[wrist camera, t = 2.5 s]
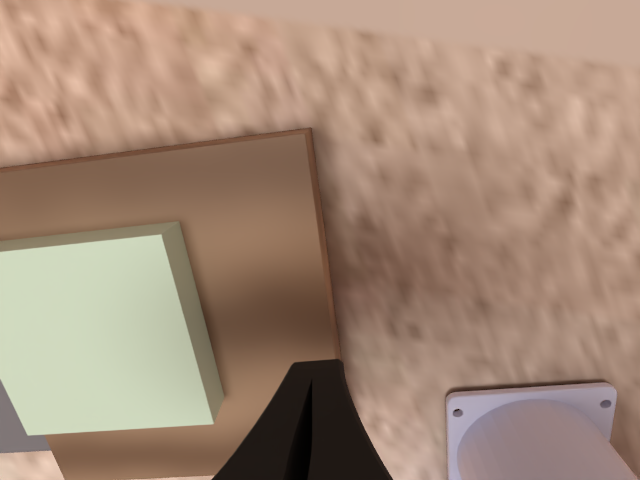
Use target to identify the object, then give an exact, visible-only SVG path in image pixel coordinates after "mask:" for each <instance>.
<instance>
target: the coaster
mask: <svg viewBox="0 0 640 480" xmlns="http://www.w3.org/2000/svg"><path fill="white" fill-rule="evenodd" d="M0 379H1V381H2V384H3V386H4V388H5V390H6V392H7V394H8V396H9V398H10V400H11V402H12V404H13V406H14V408H15V410H16V412H17V414H18V417H19V419H20V421H21V423H22V425H23V427H24V429H25V431H26V433H27V435H28V436H29V435H46V434H62V433H78V432H95V431H111V430H127V429H144V428H160V427H176V426H192V425H209V424H214V422H215V420H216V417H217V415H218V412H219V410H220V407H221V405H222V402H223V400H224V393H223V389H222V385H221V382H220V378H219V374H218V370H217V366H216V362H215V358H214V354H213V351H212V347H211V343H210V339H209V335H208V331H207V327H206V323H205V320H204V316H203V312H202V308H201V304H200V300H199V296H198V292H197V289H196V285H195V281H194V277H193V273H192V269H191V265H190V262H189V258H188V254H187V250H186V246H185V242H184V238H183V234H182V231H181V227H180V223H179V221H176V222H167V223H158V224H149V225H140V226H131V227H122V228H113V229H104V230H95V231H86V232H77V233H68V234H59V235H50V236H41V237H32V238H23V239H14V240H5V241H0Z"/></svg>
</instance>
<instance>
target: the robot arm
mask: <svg viewBox="0 0 640 480" xmlns="http://www.w3.org/2000/svg"><path fill="white" fill-rule="evenodd" d="M616 399H617V391H616V389H615V388H614V387H613V386H612V385H611V384H609V383H605V382H602V383H586V384H571V385H556V386H541V387H525V388H510V389H495V390H479V391H464V392H454V393H451V394H449V395H448V396H447V397H446V434H447V473H448V480H638V478H637V477H636V476H635V474H634V473H633V472H632V471H631V469H630V468H629V467H628V466H627V464H626V463H625V462H624V460H623V459H622V458H621V457H620V455H619V454H618V453H617V452H616V450H615V449H614V448H613V446H612V445H611V444H610V438H611V432H612V425H613V419H614V412H615V406H616ZM603 400H605V401H603ZM602 401H603V402H602ZM455 409H460V410H459V411H454V410H455ZM212 480H393V479H392V477H391V475H390V474H389V472H388V470H387V469H386V467H385V466H384V464H383V462H382V460H381V459H380V457H379V455H378V453H377V452H376V450H375V448H374V446H373V444H372V442H371V440H370V438H369V436H368V435H367V433H366V431H365V429H364V426H363V424H362V422H361V420H360V418H359V415H358V413H357V411H356V408H355V406H354V404H353V401H352V399H351V396H350V393H349V390H348V387H347V384H346V380H345V374H344V366H343V362H342V361H341V360H339V359H329V360H316V361H303V362H294V363H293V364H292V365H291V366H290V368H289V370H288V372H287V374H286V375H285V377H284V379H283V381H282V382H281V384H280V386H279V388H278V389H277V391H276V392H275V394H274V396H273V397H272V399H271V401H270V402H269V404H268V405H267V407H266V408H265V410H264V411H263V413H262V414H261V416H260V417H259V419H258V420H257V422H256V423H255V425H254V426H253V428H252V429H251V430H250V432H249V433H248V434H247V436H246V437H245V438H244V440H243V441H242V443H241V444H240V445H239V447H238V448H237V449H236V451H235V452H234V453H233V454H232V456H231V457H230V458H229V459H228V461H227V462H226V463H225V464H224V466H223V467H222V468H221V469H220V470H219V472H218V473H217V474H216V475H215V476H214V477H213V478H212Z"/></svg>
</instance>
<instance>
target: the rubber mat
mask: <svg viewBox="0 0 640 480" xmlns="http://www.w3.org/2000/svg"><path fill="white" fill-rule="evenodd" d="M49 450H51V449H50V447H49V444H48V442H47V440H46V438H45V436H44V435H29V436H28V435H27V433H26V431H25V429H24V427H23V425H22V423H21V421H20V419H19V417H18V414H17V412H16V410H15V408H14V406H13V404H12V402H11V400H10V398H9V396H8V394H7V392H6V390H5V388H4V386H3V384H2V381H1V379H0V453H14V452H31V451H49Z"/></svg>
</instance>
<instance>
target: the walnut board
mask: <svg viewBox="0 0 640 480" xmlns="http://www.w3.org/2000/svg"><path fill="white" fill-rule="evenodd" d="M176 221H179V223H180V227H181V231H182V234H183V238H184V242H185V246H186V250H187V254H188V258H189V262H190V265H191V269H192V273H193V277H194V281H195V285H196V289H197V292H198V296H199V300H200V304H201V308H202V312H203V316H204V320H205V323H206V327H207V331H208V335H209V339H210V343H211V347H212V351H213V354H214V358H215V362H216V366H217V370H218V374H219V378H220V382H221V385H222V389H223V393H224V400H223V402H222V405H221V407H220V410H219V412H218V415H217V417H216V420H215V422H214V424H209V425H192V426H176V427H160V428H144V429H127V430H111V431H95V432H78V433H62V434H46V435H44V436H45V438H46V440H47V442H48V444H49V447H50V449H51V451H52V453H53V455H54V457H55V459H56V462H57V464H58V466H59V468H60V470H61V472H62V474H63V477H64V479H65V480H128V479H148V478H169V477H189V476H210V475H216V474H217V473H218V472H219V470H220V469H221V468H222V467H223V466H224V464H225V463H226V462H227V461H228V459H229V458H230V457H231V456H232V454H233V453H234V452H235V451H236V449H237V448H238V447H239V445H240V444H241V443H242V441H243V440H244V438H245V437H246V436H247V434H248V433H249V432H250V430H251V429H252V428H253V426H254V425H255V423H256V422H257V420H258V419H259V417H260V416H261V414H262V413H263V411H264V410H265V408H266V407H267V405H268V404H269V402H270V401H271V399H272V397H273V396H274V394H275V392H276V391H277V389H278V388H279V386H280V384H281V382H282V381H283V379H284V377H285V375H286V374H287V372H288V370H289V368H290V366H291V365H292V364H293V363H294V362H303V361H316V360H329V359H339V360H341V353H340V345H339V338H338V330H337V322H336V315H335V307H334V299H333V292H332V284H331V276H330V269H329V261H328V253H327V245H326V238H325V230H324V222H323V215H322V207H321V199H320V192H319V184H318V176H317V168H316V161H315V153H314V145H313V138H312V130H311V128H305V129H297V130H289V131H282V132H274V133H266V134H259V135H251V136H243V137H236V138H228V139H220V140H212V141H205V142H197V143H189V144H182V145H174V146H166V147H159V148H151V149H143V150H135V151H128V152H120V153H112V154H105V155H97V156H89V157H81V158H74V159H66V160H58V161H51V162H43V163H35V164H28V165H20V166H12V167H4V168H0V241H5V240H14V239H23V238H32V237H41V236H50V235H59V234H68V233H77V232H86V231H95V230H104V229H113V228H122V227H131V226H140V225H149V224H158V223H167V222H176Z"/></svg>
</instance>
